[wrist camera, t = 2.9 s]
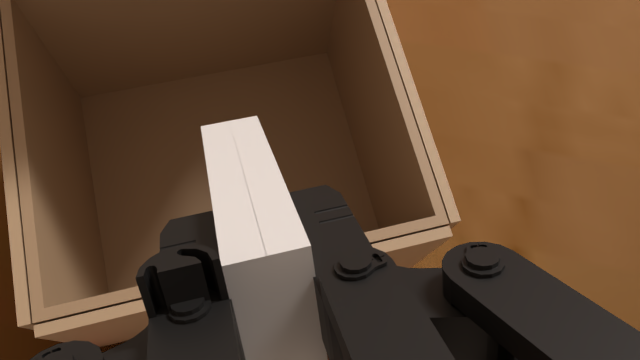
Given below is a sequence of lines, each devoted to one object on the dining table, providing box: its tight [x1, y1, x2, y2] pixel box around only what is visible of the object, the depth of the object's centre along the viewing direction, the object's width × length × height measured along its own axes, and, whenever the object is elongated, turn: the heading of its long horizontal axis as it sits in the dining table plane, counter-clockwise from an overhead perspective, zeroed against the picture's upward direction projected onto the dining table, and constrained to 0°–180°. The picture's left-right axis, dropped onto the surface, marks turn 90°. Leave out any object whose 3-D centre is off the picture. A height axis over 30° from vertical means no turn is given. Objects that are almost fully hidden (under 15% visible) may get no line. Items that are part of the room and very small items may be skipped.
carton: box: [0, 0, 461, 348], centre depth 39 cm, size 23×21×14 cm
